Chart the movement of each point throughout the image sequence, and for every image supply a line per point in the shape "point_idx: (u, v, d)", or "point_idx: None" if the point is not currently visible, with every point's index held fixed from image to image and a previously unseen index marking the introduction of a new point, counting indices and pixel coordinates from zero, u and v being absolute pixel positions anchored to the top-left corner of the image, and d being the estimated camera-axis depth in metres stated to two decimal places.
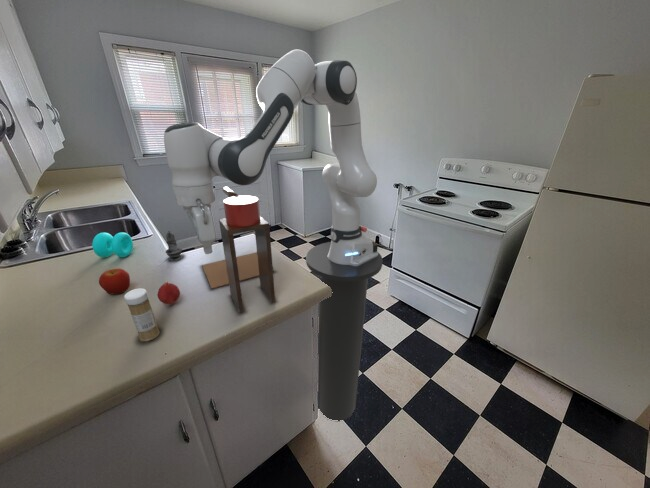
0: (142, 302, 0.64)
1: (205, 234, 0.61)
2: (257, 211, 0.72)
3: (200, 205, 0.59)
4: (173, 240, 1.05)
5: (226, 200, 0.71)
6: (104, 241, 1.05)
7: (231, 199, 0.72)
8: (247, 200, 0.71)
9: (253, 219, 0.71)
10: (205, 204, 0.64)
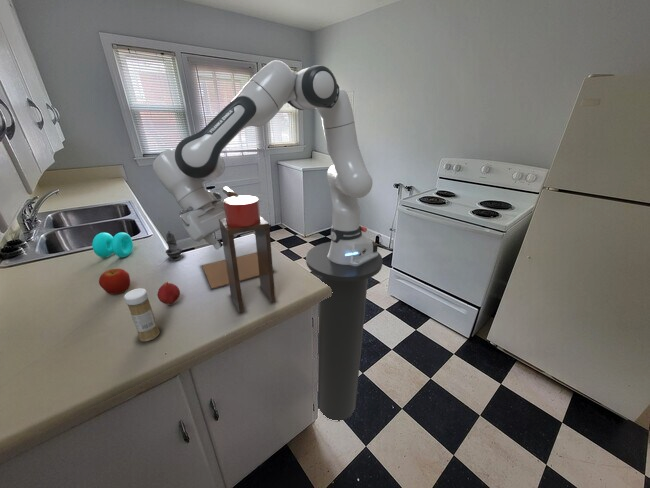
0: (142, 302, 0.64)
1: (192, 233, 0.71)
2: (257, 211, 0.72)
3: (179, 212, 0.71)
4: (173, 240, 1.05)
5: (226, 200, 0.71)
6: (104, 241, 1.05)
7: (231, 199, 0.72)
8: (247, 200, 0.71)
9: (253, 219, 0.71)
10: (197, 209, 0.75)
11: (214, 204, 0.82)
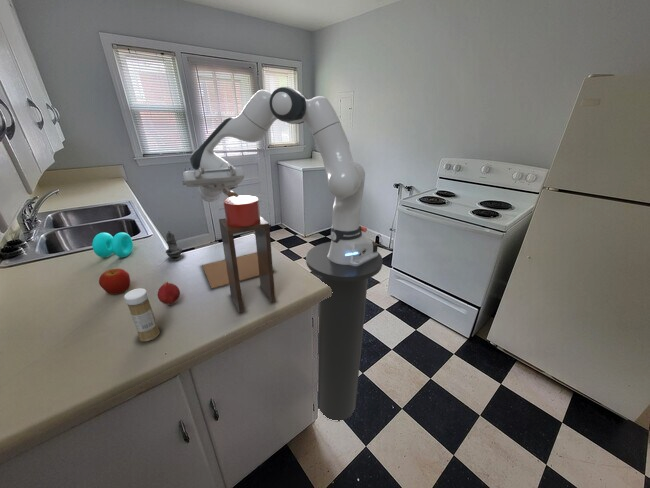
0: (142, 302, 0.64)
1: None
2: (257, 211, 0.72)
3: None
4: (173, 240, 1.05)
5: (226, 200, 0.71)
6: (104, 241, 1.05)
7: (231, 199, 0.72)
8: (247, 200, 0.71)
9: (253, 219, 0.71)
10: None
11: None
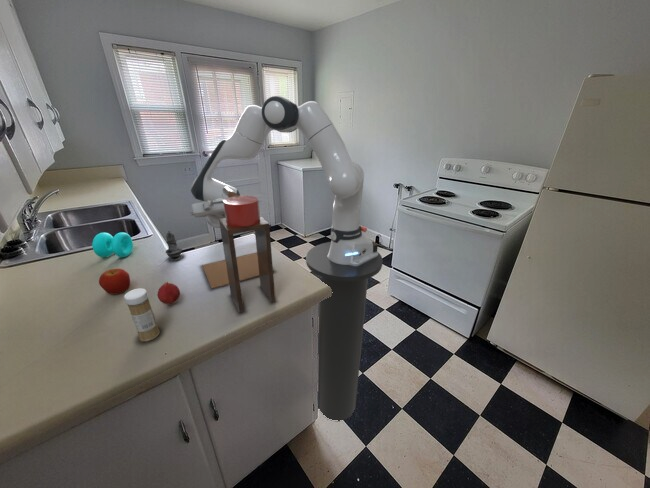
0: (142, 302, 0.64)
1: (192, 211, 0.90)
2: (257, 211, 0.72)
3: None
4: (173, 240, 1.05)
5: (226, 200, 0.71)
6: (104, 241, 1.05)
7: (231, 199, 0.72)
8: (247, 200, 0.71)
9: (253, 219, 0.71)
10: None
11: None
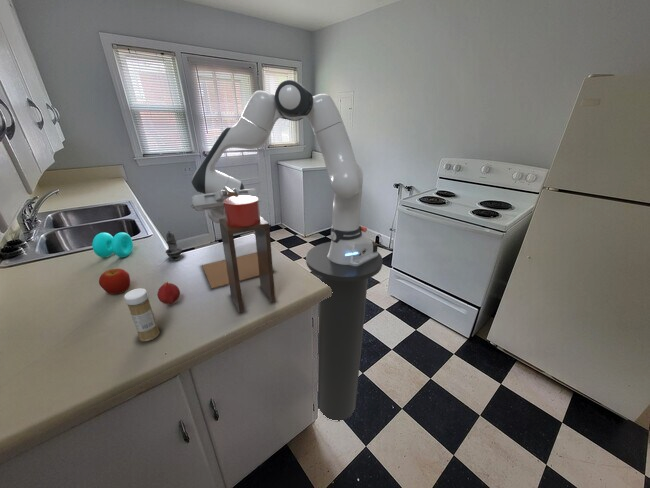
0: (142, 302, 0.64)
1: (193, 204, 0.82)
2: (257, 211, 0.72)
3: None
4: (173, 240, 1.05)
5: (226, 200, 0.71)
6: (104, 241, 1.05)
7: (231, 199, 0.72)
8: (247, 200, 0.71)
9: (253, 219, 0.71)
10: None
11: None
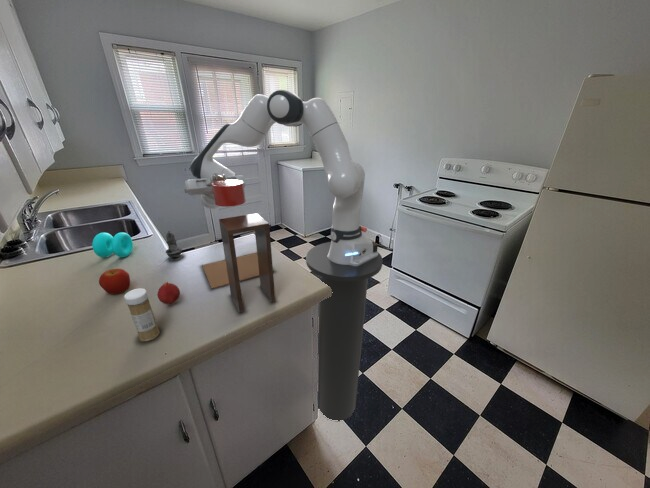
0: (142, 302, 0.64)
1: (186, 188, 0.91)
2: (242, 193, 0.81)
3: None
4: (173, 240, 1.05)
5: (214, 183, 0.80)
6: (104, 241, 1.05)
7: (219, 182, 0.81)
8: (233, 183, 0.80)
9: (239, 200, 0.80)
10: None
11: None
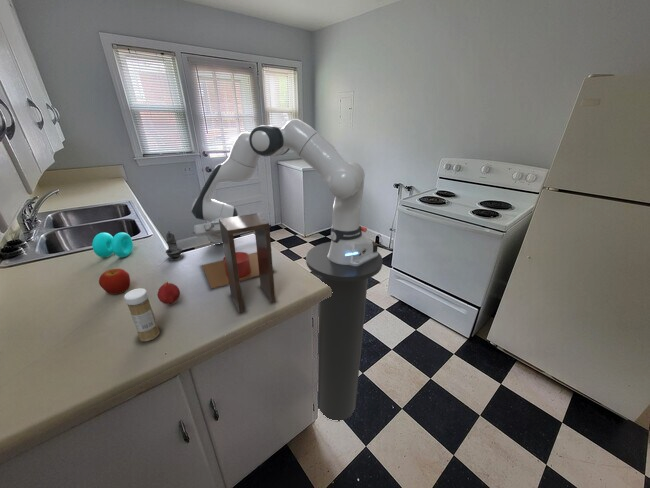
0: (142, 302, 0.64)
1: (194, 232, 0.99)
2: (248, 266, 0.96)
3: None
4: (173, 240, 1.05)
5: None
6: (104, 241, 1.05)
7: None
8: (241, 258, 0.96)
9: (245, 272, 0.96)
10: None
11: None
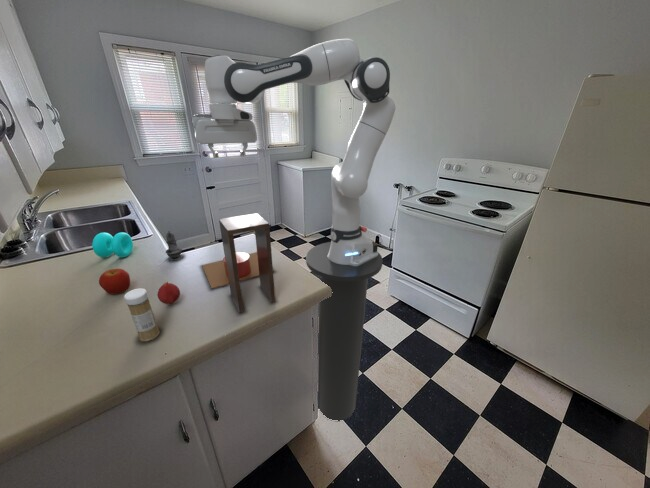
0: (142, 302, 0.64)
1: (195, 136, 0.89)
2: (248, 266, 0.96)
3: None
4: (173, 240, 1.05)
5: None
6: (104, 241, 1.05)
7: None
8: (241, 258, 0.96)
9: (245, 272, 0.96)
10: (213, 118, 0.88)
11: (236, 121, 0.91)
